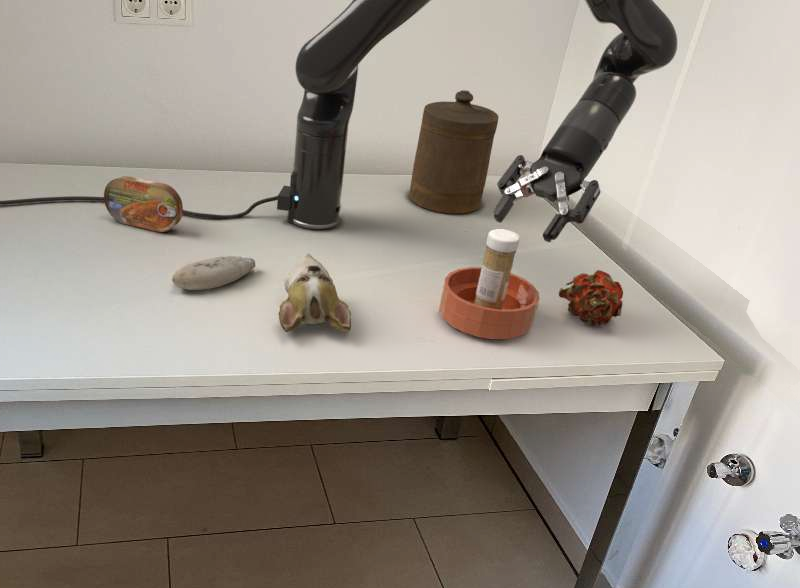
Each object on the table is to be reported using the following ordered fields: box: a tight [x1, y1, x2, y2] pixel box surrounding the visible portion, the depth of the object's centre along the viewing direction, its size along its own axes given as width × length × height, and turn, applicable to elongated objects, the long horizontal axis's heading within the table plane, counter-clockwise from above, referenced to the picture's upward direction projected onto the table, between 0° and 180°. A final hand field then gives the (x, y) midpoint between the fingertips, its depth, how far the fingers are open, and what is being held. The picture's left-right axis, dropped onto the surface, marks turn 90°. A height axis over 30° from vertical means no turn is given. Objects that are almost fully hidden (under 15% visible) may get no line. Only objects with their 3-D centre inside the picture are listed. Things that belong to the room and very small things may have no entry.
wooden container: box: [408, 89, 500, 215], centre depth 157 cm, size 15×15×22 cm
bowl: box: [438, 266, 540, 340], centre depth 121 cm, size 14×14×6 cm
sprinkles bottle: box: [474, 228, 521, 309], centre depth 118 cm, size 5×5×14 cm
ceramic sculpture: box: [278, 252, 352, 333], centre depth 117 cm, size 11×9×15 cm
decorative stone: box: [171, 255, 256, 291], centre depth 126 cm, size 6×16×3 cm, turn 131°
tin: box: [103, 175, 184, 233], centre depth 140 cm, size 15×3×8 cm, turn 68°
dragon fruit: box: [558, 269, 624, 326], centre depth 123 cm, size 8×8×12 cm
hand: (520, 229), depth 117 cm, fingers open, 8 cm apart
